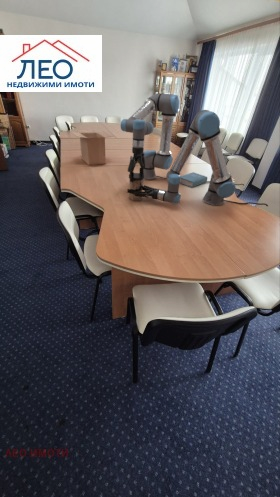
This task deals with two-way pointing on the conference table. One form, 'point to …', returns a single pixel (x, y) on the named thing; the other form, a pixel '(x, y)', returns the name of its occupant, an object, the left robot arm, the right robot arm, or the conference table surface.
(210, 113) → the right robot arm
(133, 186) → the jar
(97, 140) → the box
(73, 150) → the conference table surface
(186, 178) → the book
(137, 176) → the lid
